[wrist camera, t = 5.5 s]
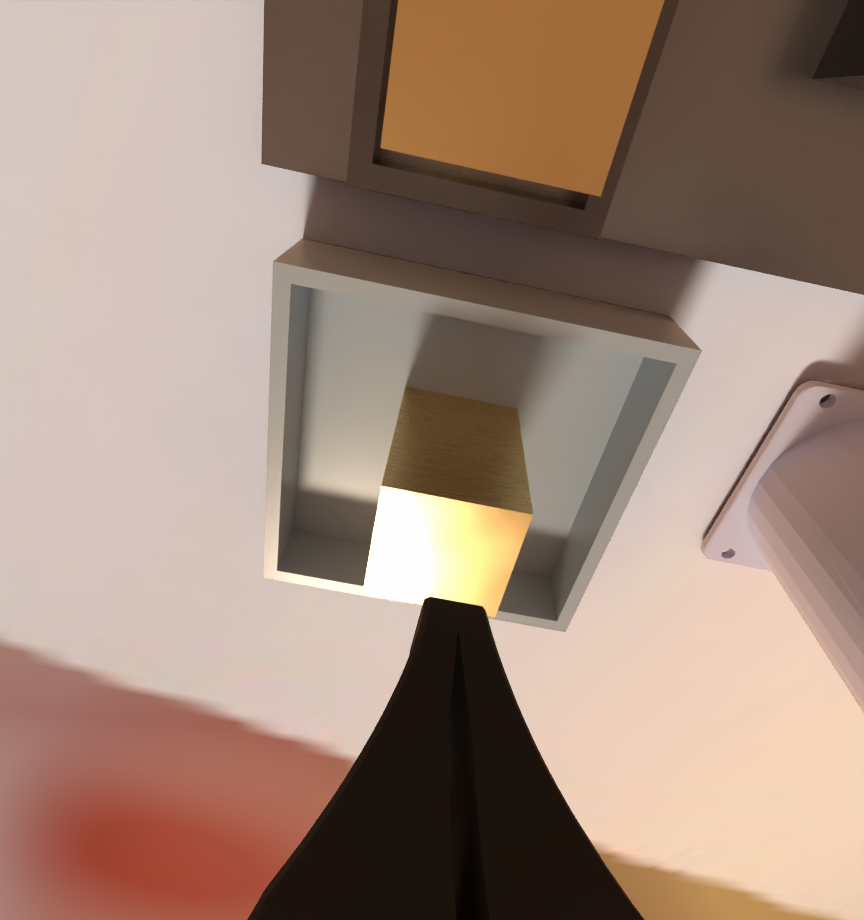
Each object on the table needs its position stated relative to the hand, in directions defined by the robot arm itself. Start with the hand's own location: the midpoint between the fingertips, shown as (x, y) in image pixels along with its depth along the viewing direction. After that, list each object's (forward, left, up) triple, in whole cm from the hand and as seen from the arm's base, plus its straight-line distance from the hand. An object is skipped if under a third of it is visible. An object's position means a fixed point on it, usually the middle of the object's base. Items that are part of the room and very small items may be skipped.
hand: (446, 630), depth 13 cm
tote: (0, 0, -9) cm, 9 cm away
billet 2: (0, 0, -9) cm, 9 cm away
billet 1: (+1, -11, -8) cm, 14 cm away
